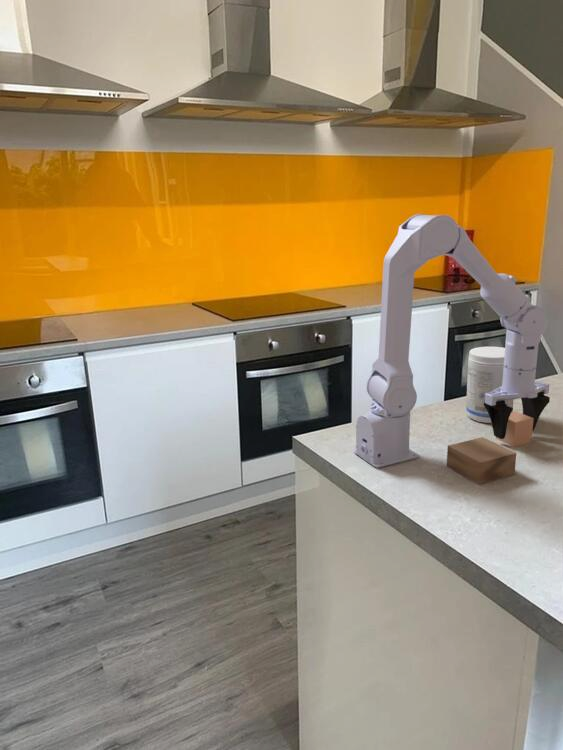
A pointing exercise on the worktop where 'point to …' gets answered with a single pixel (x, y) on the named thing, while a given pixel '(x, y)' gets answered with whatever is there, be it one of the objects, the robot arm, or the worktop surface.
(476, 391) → the supplement tub
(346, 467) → the worktop surface
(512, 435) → the orange-tan cube
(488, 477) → the walnut block
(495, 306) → the robot arm
